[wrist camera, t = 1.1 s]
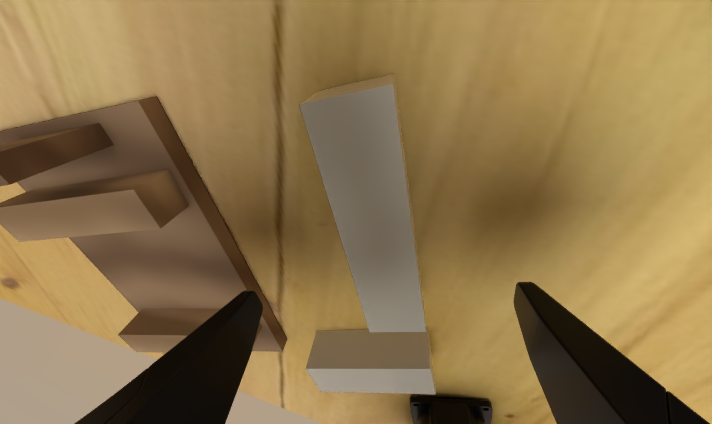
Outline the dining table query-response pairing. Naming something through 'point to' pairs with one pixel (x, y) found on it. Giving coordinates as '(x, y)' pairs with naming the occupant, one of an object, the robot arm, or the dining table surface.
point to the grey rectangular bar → (370, 197)
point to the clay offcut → (372, 362)
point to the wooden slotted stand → (131, 217)
